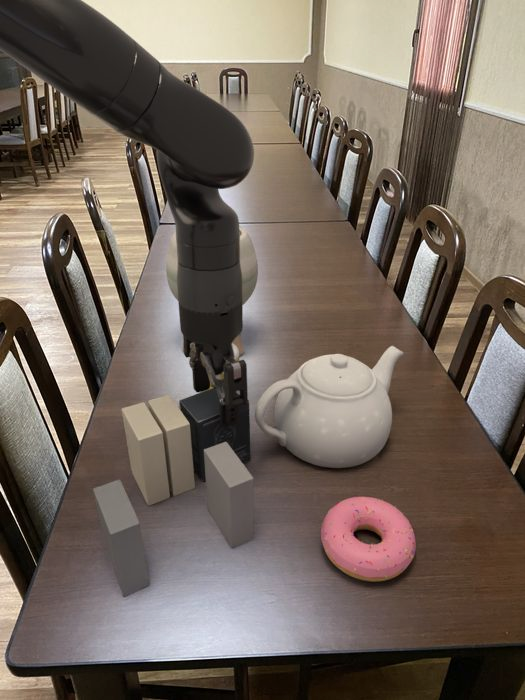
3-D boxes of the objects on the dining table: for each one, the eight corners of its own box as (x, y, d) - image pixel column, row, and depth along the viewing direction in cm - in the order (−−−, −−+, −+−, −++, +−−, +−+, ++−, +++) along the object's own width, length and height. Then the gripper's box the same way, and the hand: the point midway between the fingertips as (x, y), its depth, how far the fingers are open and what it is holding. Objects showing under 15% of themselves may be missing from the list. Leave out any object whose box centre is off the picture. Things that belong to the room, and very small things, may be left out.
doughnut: (315, 581, 60) (317, 556, 58) (323, 506, 69) (325, 482, 67) (416, 596, 58) (422, 572, 56) (410, 518, 67) (415, 494, 65)
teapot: (283, 390, 91) (285, 318, 84) (394, 408, 87) (406, 334, 80) (253, 464, 75) (252, 385, 68) (386, 490, 71) (400, 409, 64)
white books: (148, 506, 69) (138, 440, 63) (131, 472, 74) (121, 408, 68) (195, 488, 72) (189, 423, 66) (176, 456, 77) (169, 394, 71)
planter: (158, 359, 99) (145, 242, 87) (194, 320, 112) (188, 214, 100) (240, 375, 95) (238, 255, 83) (268, 332, 108) (270, 223, 96)
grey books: (123, 597, 58) (110, 534, 53) (106, 549, 63) (92, 488, 58) (254, 538, 65) (253, 478, 59) (228, 500, 70) (226, 441, 65)
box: (231, 439, 80) (229, 380, 75) (251, 461, 76) (251, 401, 70) (183, 458, 76) (178, 398, 71) (202, 483, 72) (197, 421, 67)
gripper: (159, 279, 67) (169, 387, 75) (205, 328, 56) (211, 447, 64) (214, 269, 70) (217, 373, 78) (268, 313, 59) (265, 428, 68)
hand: (214, 406), depth 71 cm, fingers open, 8 cm apart
